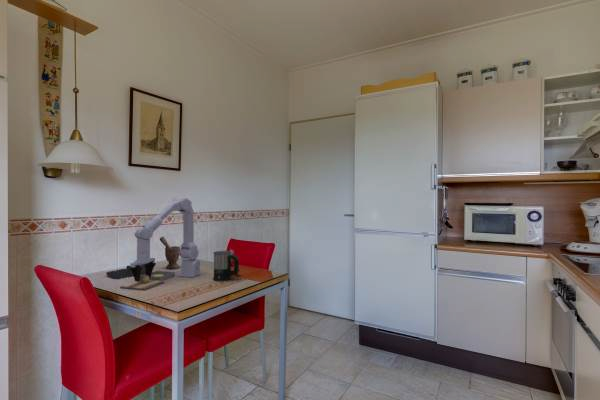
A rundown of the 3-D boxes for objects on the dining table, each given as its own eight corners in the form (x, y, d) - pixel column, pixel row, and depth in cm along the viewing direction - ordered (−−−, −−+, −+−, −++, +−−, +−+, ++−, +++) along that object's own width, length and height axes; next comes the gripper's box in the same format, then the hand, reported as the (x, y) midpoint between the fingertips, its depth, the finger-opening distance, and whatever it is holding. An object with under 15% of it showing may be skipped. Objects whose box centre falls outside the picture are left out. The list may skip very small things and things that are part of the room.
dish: (174, 276, 172) (174, 272, 172) (160, 281, 161) (160, 277, 161) (156, 274, 175) (156, 270, 175) (140, 279, 164) (140, 275, 164)
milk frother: (212, 281, 162) (212, 253, 162) (214, 274, 177) (214, 248, 177) (239, 280, 165) (240, 253, 165) (239, 273, 180) (240, 248, 180)
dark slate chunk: (102, 276, 171) (102, 267, 171) (141, 269, 189) (141, 261, 189) (115, 280, 162) (116, 271, 162) (155, 273, 180) (155, 265, 180)
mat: (164, 282, 158) (164, 281, 158) (144, 290, 144) (144, 289, 144) (141, 280, 161) (141, 279, 161) (119, 288, 147) (119, 287, 148)
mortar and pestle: (166, 271, 183) (166, 237, 183) (157, 269, 187) (157, 236, 188) (182, 267, 193) (183, 235, 193) (173, 266, 197) (174, 234, 197)
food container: (223, 268, 193) (224, 252, 193) (216, 267, 196) (217, 251, 196) (237, 265, 203) (237, 250, 203) (230, 264, 207) (231, 249, 207)
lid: (162, 282, 158) (163, 273, 158) (144, 289, 145) (144, 280, 145) (141, 280, 161) (141, 272, 161) (121, 286, 148) (121, 278, 148)
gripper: (146, 249, 161) (146, 275, 161) (125, 253, 147) (124, 282, 147) (158, 249, 159) (158, 276, 159) (137, 254, 145) (137, 283, 145)
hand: (142, 279), depth 153 cm, fingers open, 7 cm apart
